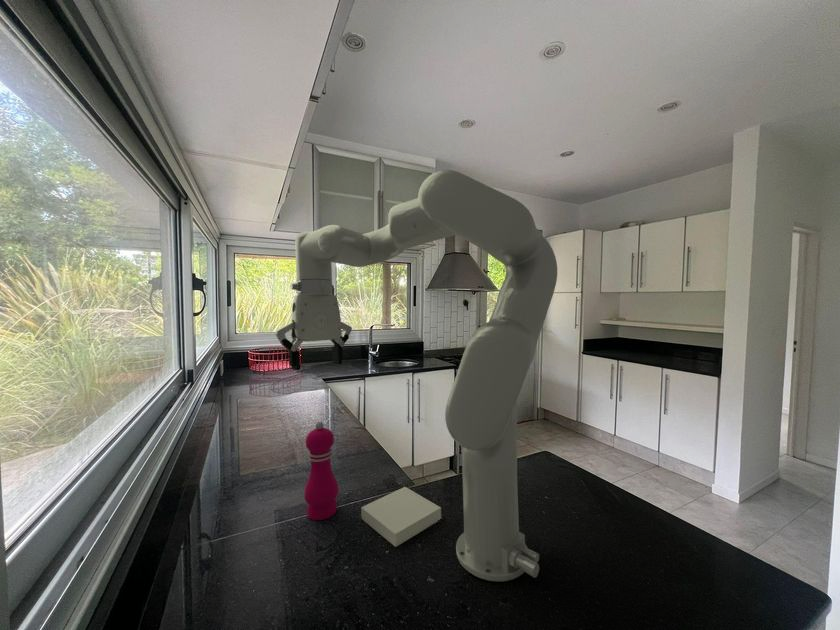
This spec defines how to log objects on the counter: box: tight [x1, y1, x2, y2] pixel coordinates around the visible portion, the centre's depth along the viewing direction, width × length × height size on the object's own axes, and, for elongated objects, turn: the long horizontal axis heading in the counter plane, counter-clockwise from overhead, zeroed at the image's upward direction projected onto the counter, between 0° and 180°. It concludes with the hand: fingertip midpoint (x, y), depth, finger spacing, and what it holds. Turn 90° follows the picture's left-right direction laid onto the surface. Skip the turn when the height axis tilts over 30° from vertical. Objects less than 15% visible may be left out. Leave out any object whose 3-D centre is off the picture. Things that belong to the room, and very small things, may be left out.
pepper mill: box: [303, 421, 339, 521], centre depth 73 cm, size 7×7×20 cm
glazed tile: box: [360, 486, 442, 548], centre depth 70 cm, size 3×12×12 cm
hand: (317, 366), depth 73 cm, fingers open, 9 cm apart
